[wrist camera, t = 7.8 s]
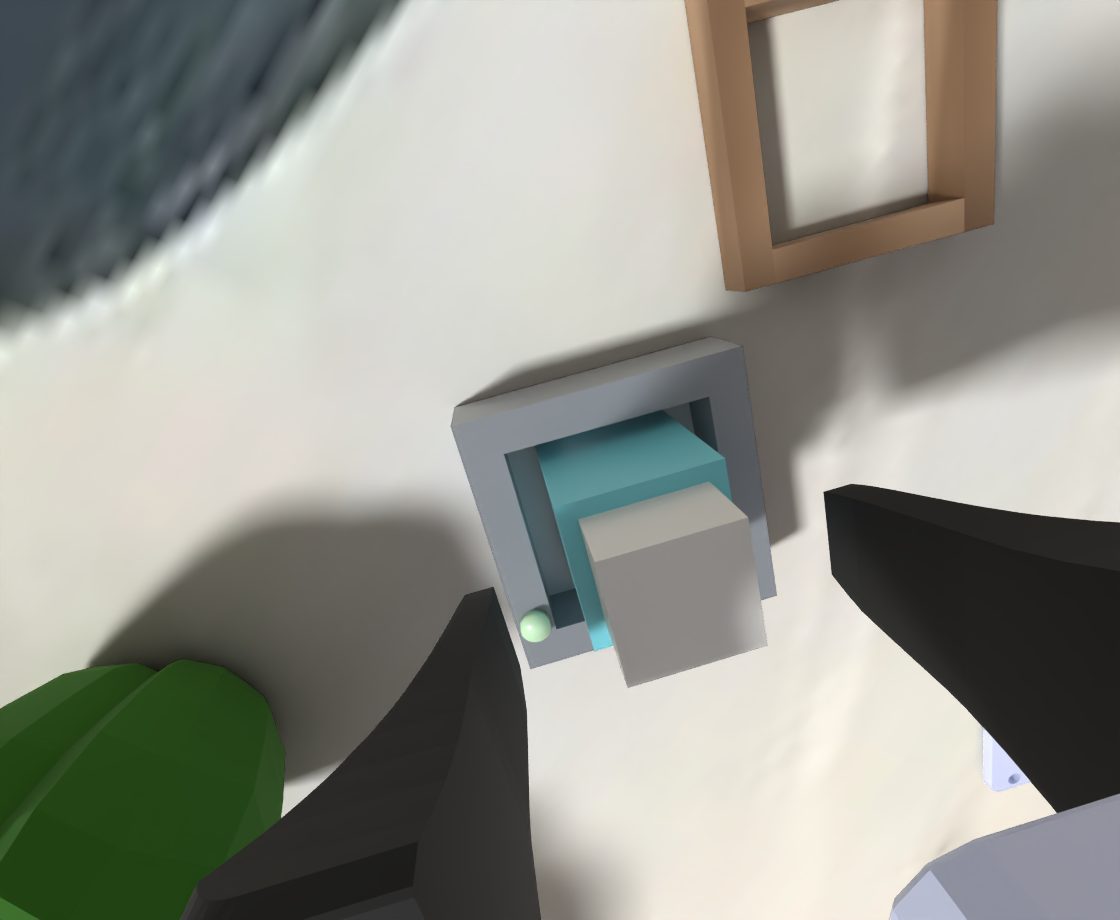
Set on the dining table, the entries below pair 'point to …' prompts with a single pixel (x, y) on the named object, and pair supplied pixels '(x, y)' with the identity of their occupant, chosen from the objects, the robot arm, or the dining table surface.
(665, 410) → the port
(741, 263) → the wooden square frame
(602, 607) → the plug
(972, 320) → the dining table surface
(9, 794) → the bell pepper
